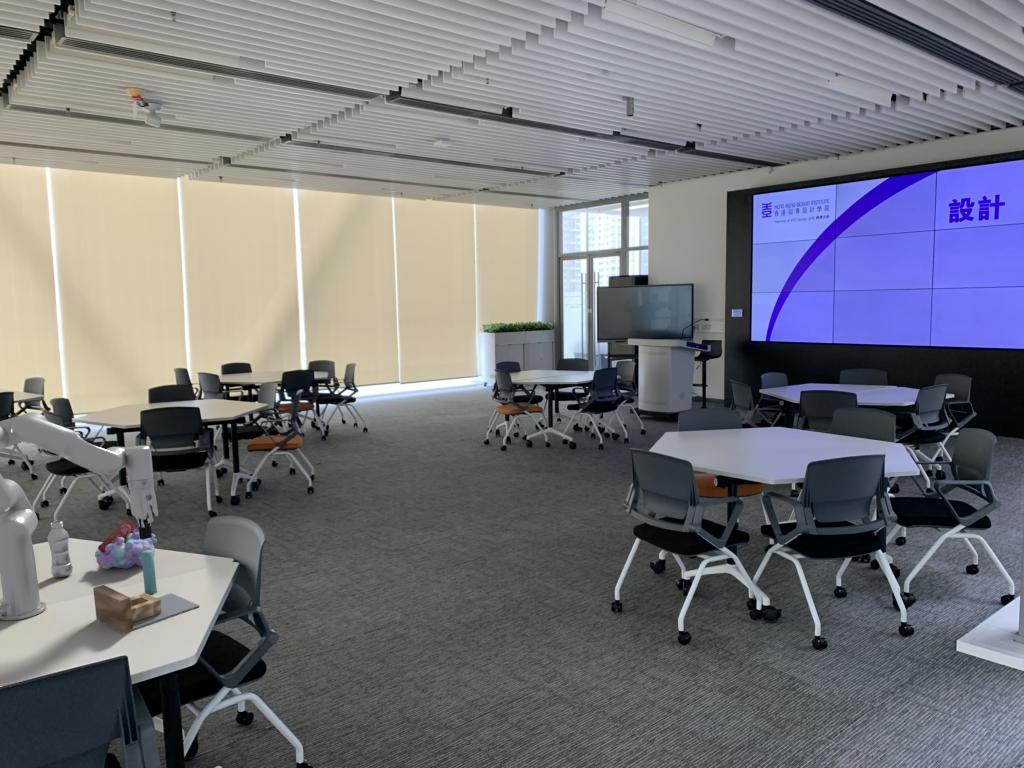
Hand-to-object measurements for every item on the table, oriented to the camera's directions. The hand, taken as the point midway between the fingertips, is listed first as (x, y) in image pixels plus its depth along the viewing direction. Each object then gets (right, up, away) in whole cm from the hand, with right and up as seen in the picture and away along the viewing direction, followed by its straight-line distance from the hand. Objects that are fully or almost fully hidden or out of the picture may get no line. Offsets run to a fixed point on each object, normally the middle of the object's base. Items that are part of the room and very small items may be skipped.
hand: (145, 538), depth 251 cm
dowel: (+1, -19, +2) cm, 19 cm away
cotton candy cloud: (-22, -17, +31) cm, 42 cm away
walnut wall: (+2, -21, -23) cm, 31 cm away
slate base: (+8, -20, -15) cm, 26 cm away
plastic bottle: (-40, -18, +22) cm, 50 cm away
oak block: (+6, -21, -18) cm, 28 cm away
